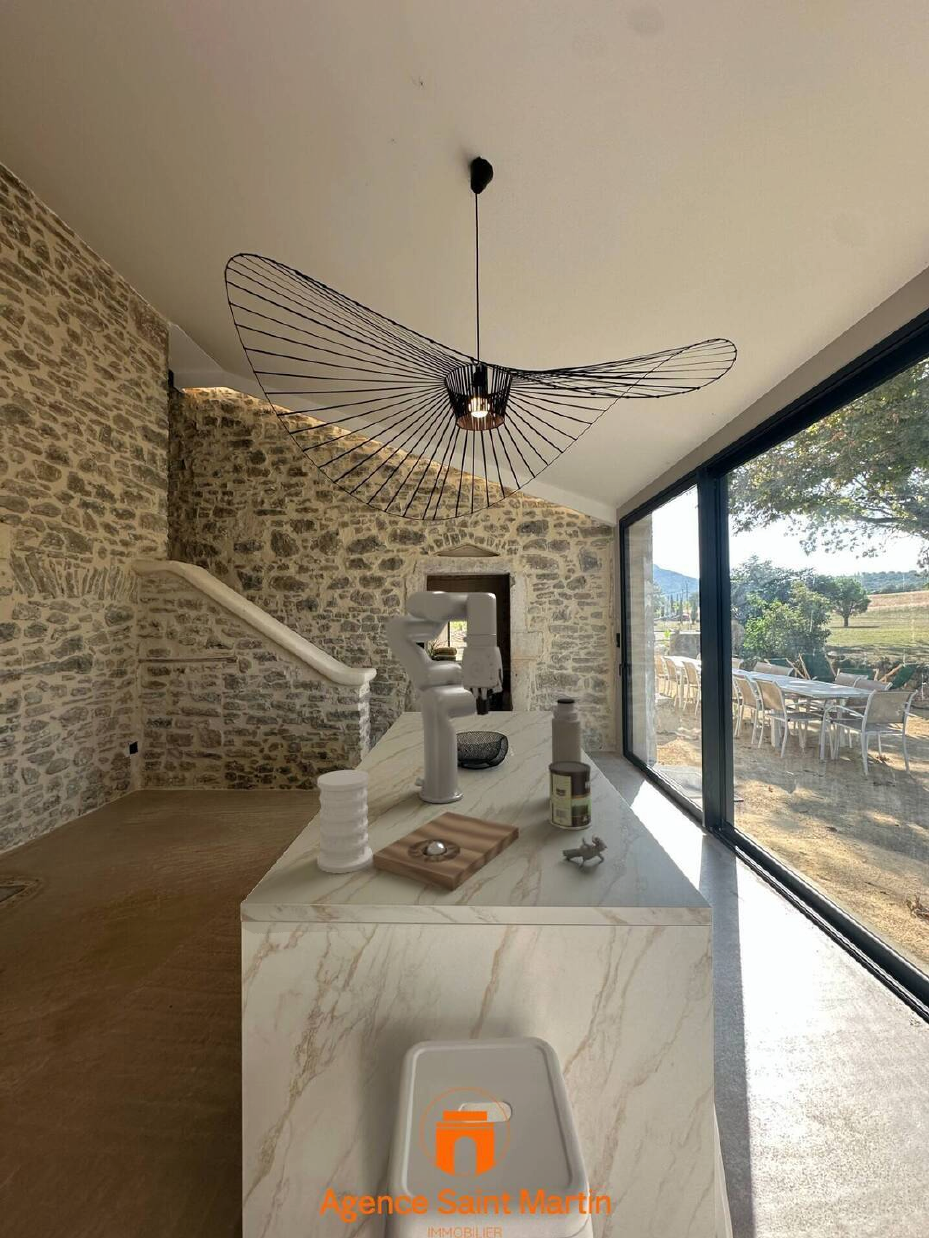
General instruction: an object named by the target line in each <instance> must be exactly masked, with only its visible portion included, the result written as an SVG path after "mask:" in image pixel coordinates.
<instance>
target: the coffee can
mask: <svg viewBox="0 0 929 1238" xmlns="http://www.w3.org/2000/svg"><path fill="white" fill-rule="evenodd" d="M548 770H549V773H548V774H549V823H550V824H551V825H552V826H554V827H555V828H559V829H563V830H568V831H569V830H570V831H580V830H584V829H587V828H589V827H590V826H592V816H591V815H592V810H591V807H592V806H591V804H592V803H591V802H592V801H591V800H592V799H591V766H590V764H589V763H588V764H587V763H585V762H582V761H581V762H577V761H558V762H554V763H552V762H551V763H549V765H548Z"/></svg>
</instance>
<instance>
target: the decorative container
mask: <svg viewBox="0 0 929 1238" xmlns="http://www.w3.org/2000/svg"><path fill="white" fill-rule="evenodd" d="M316 781H317V784H316V785H317V788H319V790H320V793H319V798H318V799H319V803H320V806H321V808H320V810H319V816H320V820H321V823H320V826H319V830H320V834H321V839H320V843H319V845H320V848H321V852H319V853H318V854H317V857H316V865H318V866H317V868H318V869H319V868H320V869H321V870H320V869H319V870H320V871H322V870H323V871H322V872H324V871H328V872H333V873H332V874H335V873H339V872H340V873H341V874H347V873H346V872H350V873H353V872H352V871H354V872H357V871H360V870H362V869H364V868H366V867H367V866H369V865H370V864H371V863H372V862H373V850H372V849H371V848H370V846H368V844H369V833H368V827H369V820H368V818H367V815H368V813H369V807H368V803H367V800H368V797H369V796H368V795H369V793H368V790H367V786H368V784H369V783H370V774H369V773H368V772H367V771H363V770H358V769H343V770H335V771H330V772H327V773H323V774H322V775H319V776H318V778H317V779H316ZM328 872H327V873H328ZM334 872H335V873H334ZM344 872H345V873H344Z"/></svg>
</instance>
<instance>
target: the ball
mask: <svg viewBox="0 0 929 1238" xmlns="http://www.w3.org/2000/svg"><path fill="white" fill-rule="evenodd" d="M445 853H446V851H445V847H444V845H443V844H441V843H440V842H433V843H431V844H430V845H429V846H428V848H427V856H440V855H443V854H445Z"/></svg>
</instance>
